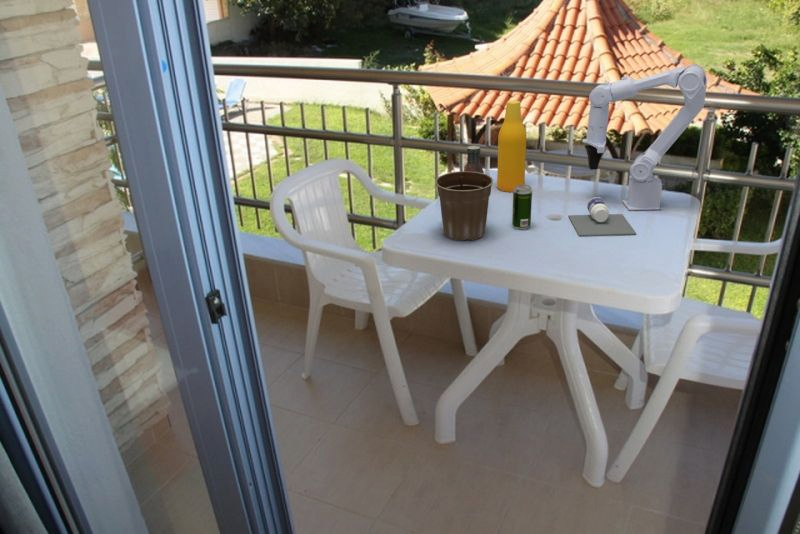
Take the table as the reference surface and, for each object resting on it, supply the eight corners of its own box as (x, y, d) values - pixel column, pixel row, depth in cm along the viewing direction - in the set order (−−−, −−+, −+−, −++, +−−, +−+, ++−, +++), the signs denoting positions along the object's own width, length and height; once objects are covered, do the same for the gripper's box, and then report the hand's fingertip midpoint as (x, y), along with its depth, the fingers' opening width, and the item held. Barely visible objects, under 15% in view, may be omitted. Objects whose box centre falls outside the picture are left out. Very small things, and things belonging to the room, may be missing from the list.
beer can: (534, 228, 200) (535, 189, 195) (517, 231, 199) (519, 191, 194) (524, 221, 205) (526, 183, 200) (508, 224, 203) (509, 186, 198)
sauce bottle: (482, 213, 212) (483, 150, 204) (462, 212, 214) (462, 150, 205) (483, 205, 218) (484, 144, 210) (464, 205, 219) (464, 144, 211)
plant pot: (476, 248, 189) (477, 193, 182) (425, 238, 197) (424, 184, 190) (501, 228, 201) (503, 175, 194) (452, 219, 209) (452, 168, 202)
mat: (622, 215, 207) (622, 213, 206) (636, 235, 193) (636, 233, 193) (568, 216, 207) (568, 215, 207) (578, 236, 194) (579, 234, 193)
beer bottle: (496, 183, 237) (498, 99, 224) (523, 183, 236) (527, 98, 223) (497, 192, 229) (499, 105, 216) (525, 192, 228) (529, 104, 215)
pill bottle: (607, 200, 206) (614, 211, 198) (599, 215, 208) (605, 226, 200) (591, 194, 205) (597, 204, 197) (583, 209, 207) (589, 220, 199)
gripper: (579, 120, 215) (575, 161, 221) (589, 132, 202) (585, 176, 208) (602, 119, 215) (597, 161, 221) (613, 132, 202) (608, 176, 208)
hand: (592, 168), depth 215 cm, fingers closed
